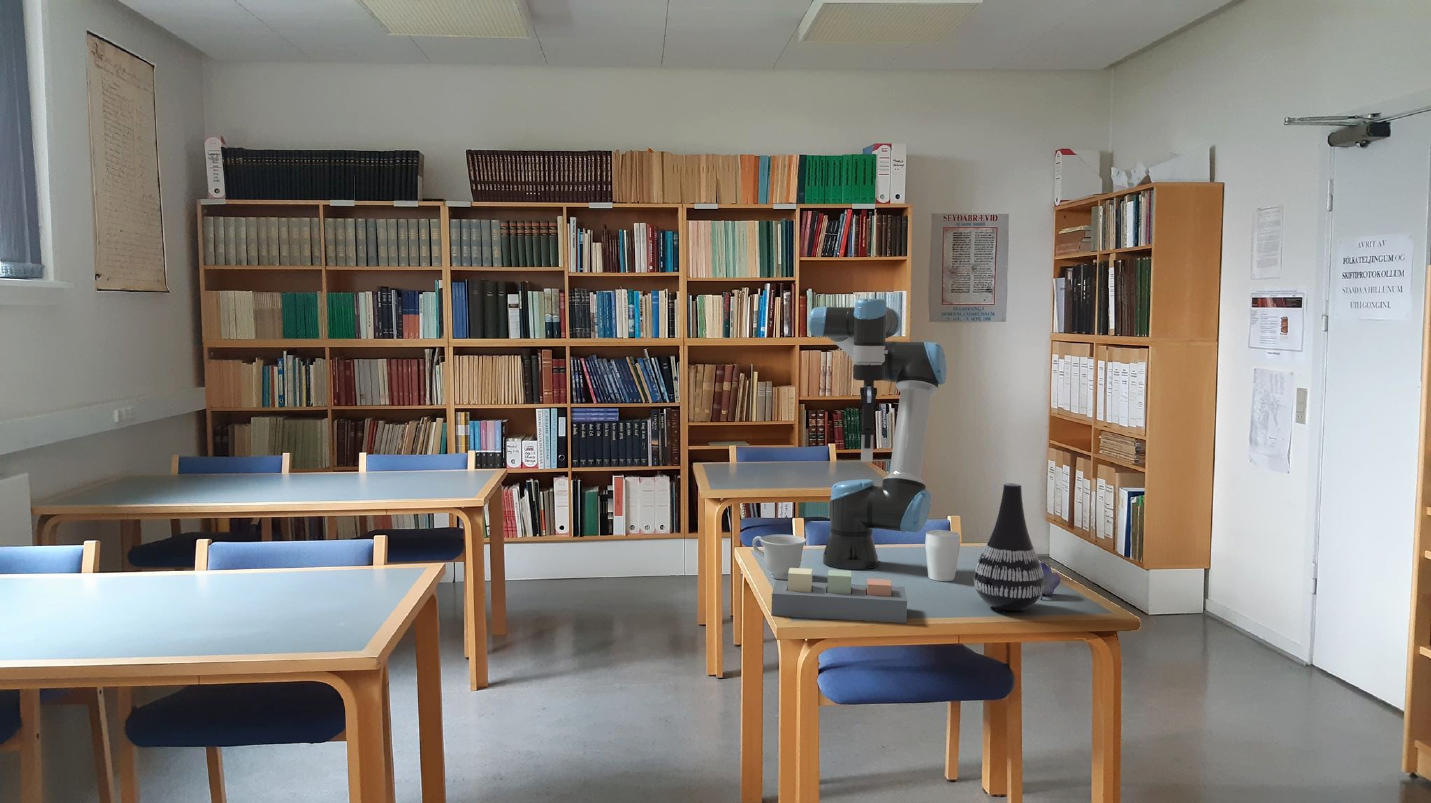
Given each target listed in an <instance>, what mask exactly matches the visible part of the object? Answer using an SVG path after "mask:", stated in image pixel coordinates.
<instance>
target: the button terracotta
mask: <svg viewBox="0 0 1431 803" xmlns="http://www.w3.org/2000/svg"><path fill="white" fill-rule="evenodd" d="M866 585H867V595H871V596H890V597H891V587H892V580H891V579H883V578H867V584H866Z"/></svg>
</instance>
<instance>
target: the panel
mask: <svg viewBox="0 0 1431 803" xmlns="http://www.w3.org/2000/svg"><path fill="white" fill-rule="evenodd" d="M827 587H828V582H817V581H815V582H814V581H812V592H798V591H788V580H781V579H776V580H775V583H774V585H773V589H772V592H771V611H770V612H771V614H770V615H771V616H775V617H776V616H777V617H793V618H794V617H795V618H811V619H812V618H813V619H831V620H843V621H844V620H848V621H860V620H865V621H864V622H877V621H879V622H880V623H883V622H884V623H895V624H896V623H899V624H907V617H908V614H907V612H908V600H907V594H906V589H905V586H892V587H891V597H890V596H871V595H867V584H856V583H855V584H852V583H851V594H835V593H827ZM879 622H878V623H879Z"/></svg>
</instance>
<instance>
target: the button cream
mask: <svg viewBox="0 0 1431 803" xmlns="http://www.w3.org/2000/svg"><path fill="white" fill-rule="evenodd" d="M787 581H788V591H798V592H812V582H813V568H801V567H799V568H789V572H788V579H787Z"/></svg>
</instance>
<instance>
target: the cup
mask: <svg viewBox="0 0 1431 803" xmlns="http://www.w3.org/2000/svg"><path fill="white" fill-rule="evenodd" d="M924 547H925V556H926V566H927V576H928V579H929V580H933V581H936V582H952V581H954V580H955V576H956V571H957V566H958V561H959V555H960V550H961V549H960V548H961V534H960V533H959V532H957V531H953V530H947V529H946V530H945V529H933V530H932V529H931V530H927V531H925V539H924Z"/></svg>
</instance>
